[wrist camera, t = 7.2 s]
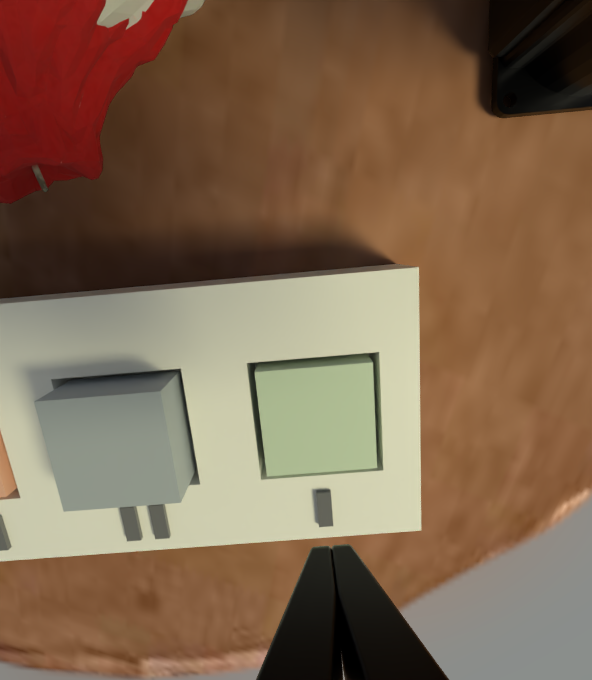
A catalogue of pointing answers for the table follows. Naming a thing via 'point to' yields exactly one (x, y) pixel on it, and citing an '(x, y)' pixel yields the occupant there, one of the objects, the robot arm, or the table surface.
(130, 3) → the red irregular piece
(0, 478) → the terracotta tile
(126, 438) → the slate tile
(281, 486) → the button board
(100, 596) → the table surface
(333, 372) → the sage tile
